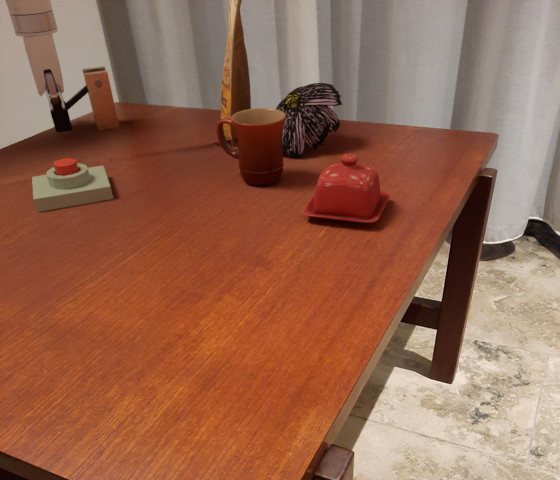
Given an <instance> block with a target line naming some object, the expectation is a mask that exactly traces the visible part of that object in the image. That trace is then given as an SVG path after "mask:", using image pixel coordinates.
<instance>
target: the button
mask: <svg viewBox="0 0 560 480" xmlns="http://www.w3.org/2000/svg"><path fill="white" fill-rule="evenodd" d="M53 167H54V168H55V172H56V175H61V176H66V175H72V174H74V173H77V172H78V171H79V169H78V166H77V160H76V159H75V158H72V157H68V158H67V157H66V158H60V159H58V160H55V161H54V162H53Z"/></svg>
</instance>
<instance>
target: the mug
mask: <svg viewBox="0 0 560 480" xmlns="http://www.w3.org/2000/svg"><path fill="white" fill-rule="evenodd" d="M285 119H286V114H285V113H284V112H282V111H280V110H277V109H276V108H269V107H256V108H251V109H247V110H243V111H239V112H237V113H235V114H233V115H232V116H231V117H224V118H222V119H221V118H220V119H219V120H218V121H217V123H216V126H215V127H216V130H215V131H216V136H217V140H218V143H219V145H220V147H221V148H222V150H223V151H224V152H225V153H226V154H227V155H228V156H230V157H232V158H233V159H236V160H238V169H239V173H240V176H241V180H243V181H244V182H246V184H248V185H251V186H256V187H257V186H258V187H264V186H265V187H266V186H271V185H273V184H275V183H277V182H278V181H280V180H281V179H282V177H283V172H284V152H283V148H282V132H283V127H284V123H285ZM224 123H226V124H229V125H231V126H232V127H233V128H234V129H235V132H236V135H237V137H236V139H237V140H238V145H237V148H233V146H230V144H229V143H227V141H226V140H227V139H226V136H225V135H224V130H223V124H224Z"/></svg>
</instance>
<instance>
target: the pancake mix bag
mask: <svg viewBox="0 0 560 480" xmlns="http://www.w3.org/2000/svg"><path fill="white" fill-rule="evenodd" d="M228 3H229V4H228V5H229V6H228V35H227V39H226V40H227V41H226V47H225V54H224V62H223V70H222V78H221V88H220V89H221V90H220V119H222V118H224V117H231V116H232V115H233V114H235V113H237V112H239V111H243V110H247V109H252V99H251V98H252V97H251V95H252V94H251V79H250V70H249V69H250V68H249V60H248V54H247V48H246V43H245V35H244V34H245V33H244V26H243V22H242V15H241V5H242V0H228ZM223 130H224V135H225V138H226V137H227V138H230V139H226V141H227V143H228V145H231V147H233V146H238V140H237V135H236V132H235V129H234V128H233V127H232V126H231V125H229V124H226V123H224V124H223Z"/></svg>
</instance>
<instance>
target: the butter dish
mask: <svg viewBox="0 0 560 480" xmlns="http://www.w3.org/2000/svg"><path fill="white" fill-rule="evenodd" d="M340 161H341V162H337V163H332V164H330V165H328V166H327V167H326V168H324V169H323V170H322V172H321V173H320V175H319V177H318V178H317V182H316V187H315V192H314V194H313V195H312V196H311V198H310V199H309V201H308V202H307V203H306V204H305V206H304V208H303V209H302V215H303V216H304V217H308V218H318V219H323V220H324V219H325V220H332V221H340V222H341V221H342V222H350V223H359V224H373V223H376V222H377V221H378V220H379V219H380V217H381V215H382V213H383V211H384V210H385V208H386V206H387V203H388V202H389V200H390V196H391V195H390V192H389V191H385V190H381V184H380V176H379V172H378V170H376V169H375V168H374V167H371V166H369V165H367V164H362V163H357V162H358V161H359V157H358V155H356V154H354V153H344V154H343V155H341V157H340Z"/></svg>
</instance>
